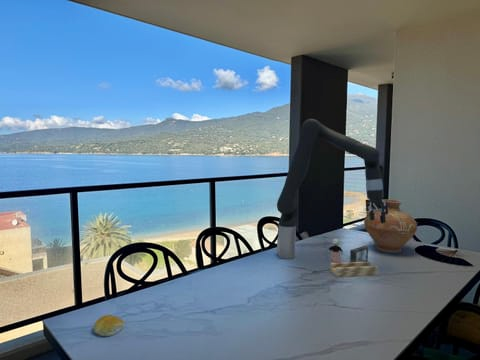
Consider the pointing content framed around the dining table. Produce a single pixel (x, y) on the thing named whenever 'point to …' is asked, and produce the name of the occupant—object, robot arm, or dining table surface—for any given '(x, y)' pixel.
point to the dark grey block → (359, 254)
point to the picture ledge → (353, 269)
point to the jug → (391, 228)
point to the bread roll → (108, 325)
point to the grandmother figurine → (335, 251)
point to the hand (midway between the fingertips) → (377, 221)
